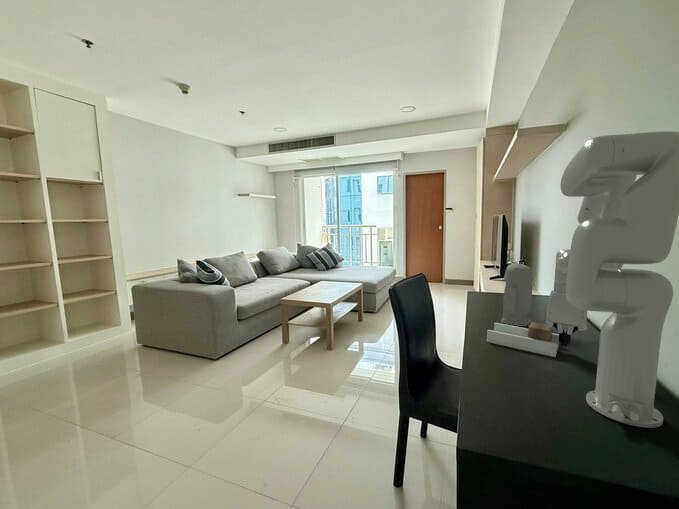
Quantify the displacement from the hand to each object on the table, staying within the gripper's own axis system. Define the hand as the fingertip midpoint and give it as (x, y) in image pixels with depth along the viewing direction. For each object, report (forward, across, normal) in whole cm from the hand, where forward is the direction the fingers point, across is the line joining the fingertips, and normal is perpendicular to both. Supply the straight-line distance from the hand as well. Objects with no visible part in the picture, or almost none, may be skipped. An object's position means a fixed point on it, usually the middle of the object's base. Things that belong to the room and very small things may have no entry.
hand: (564, 344), depth 99 cm
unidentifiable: (+3, +18, -25) cm, 31 cm away
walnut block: (+1, +7, 0) cm, 7 cm away
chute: (+3, +12, 0) cm, 12 cm away
